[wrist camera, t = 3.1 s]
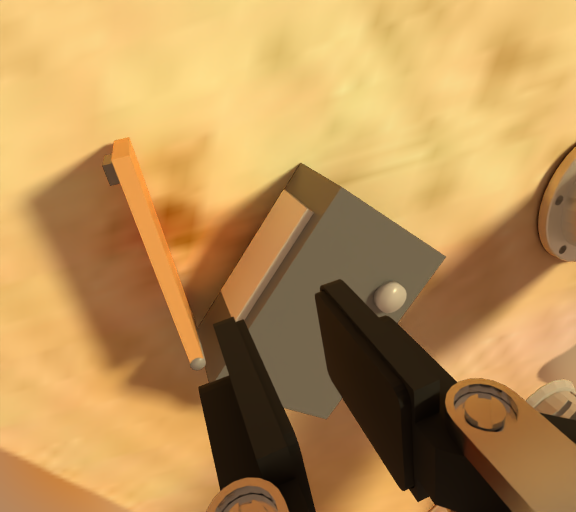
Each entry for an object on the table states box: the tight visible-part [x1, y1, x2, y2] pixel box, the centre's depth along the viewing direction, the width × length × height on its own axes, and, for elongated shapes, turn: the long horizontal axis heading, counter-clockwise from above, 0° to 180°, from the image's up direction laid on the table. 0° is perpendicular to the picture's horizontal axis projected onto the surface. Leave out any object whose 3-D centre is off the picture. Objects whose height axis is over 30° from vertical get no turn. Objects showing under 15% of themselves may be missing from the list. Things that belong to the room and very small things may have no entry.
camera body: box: [197, 163, 446, 419], centre depth 28 cm, size 15×10×7 cm, turn 145°
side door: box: [102, 137, 206, 370], centre depth 23 cm, size 13×1×5 cm, turn 10°
